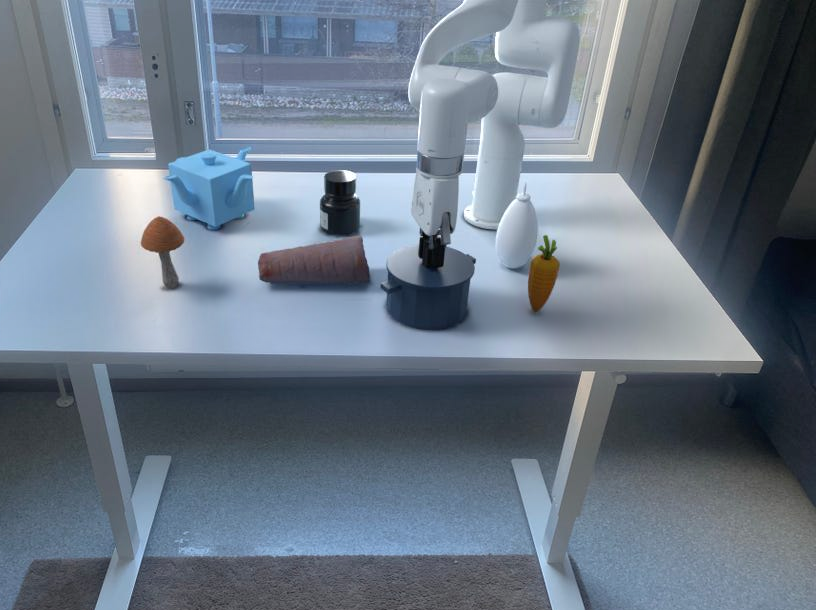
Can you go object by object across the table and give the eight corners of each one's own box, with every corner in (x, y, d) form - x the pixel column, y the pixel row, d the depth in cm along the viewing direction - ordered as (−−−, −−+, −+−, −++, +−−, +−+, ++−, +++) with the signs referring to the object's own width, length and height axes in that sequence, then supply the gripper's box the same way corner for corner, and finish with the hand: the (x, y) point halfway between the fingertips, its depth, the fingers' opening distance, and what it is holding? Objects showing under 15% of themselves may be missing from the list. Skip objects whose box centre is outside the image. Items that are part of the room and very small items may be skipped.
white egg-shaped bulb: (535, 262, 144) (551, 178, 133) (525, 279, 138) (541, 193, 128) (498, 254, 147) (511, 171, 136) (486, 270, 141) (499, 185, 131)
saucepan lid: (369, 263, 127) (370, 232, 124) (435, 242, 134) (438, 212, 130) (422, 302, 117) (425, 269, 113) (492, 276, 124) (497, 245, 120)
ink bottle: (327, 216, 162) (326, 165, 154) (364, 220, 160) (365, 169, 152) (314, 234, 154) (313, 182, 147) (353, 239, 152) (354, 187, 145)
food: (363, 267, 142) (364, 227, 137) (371, 291, 135) (373, 249, 130) (258, 273, 140) (255, 233, 135) (260, 298, 132) (258, 256, 127)
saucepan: (359, 305, 131) (360, 265, 126) (442, 276, 139) (446, 237, 134) (407, 343, 121) (410, 301, 116) (493, 309, 130) (500, 269, 125)
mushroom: (155, 302, 132) (142, 229, 123) (144, 282, 137) (131, 211, 128) (196, 291, 134) (186, 219, 126) (183, 273, 140) (173, 203, 131)
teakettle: (179, 201, 168) (170, 140, 159) (257, 199, 169) (253, 138, 160) (171, 237, 153) (160, 172, 144) (257, 234, 154) (252, 169, 145)
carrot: (549, 321, 127) (566, 246, 118) (521, 318, 127) (535, 243, 118) (548, 306, 130) (564, 233, 121) (521, 303, 131) (535, 230, 122)
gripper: (402, 146, 119) (396, 243, 130) (434, 183, 106) (425, 287, 117) (444, 142, 121) (435, 239, 132) (481, 178, 108) (467, 282, 119)
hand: (430, 261), depth 124 cm, fingers closed on saucepan lid, 3 cm apart
